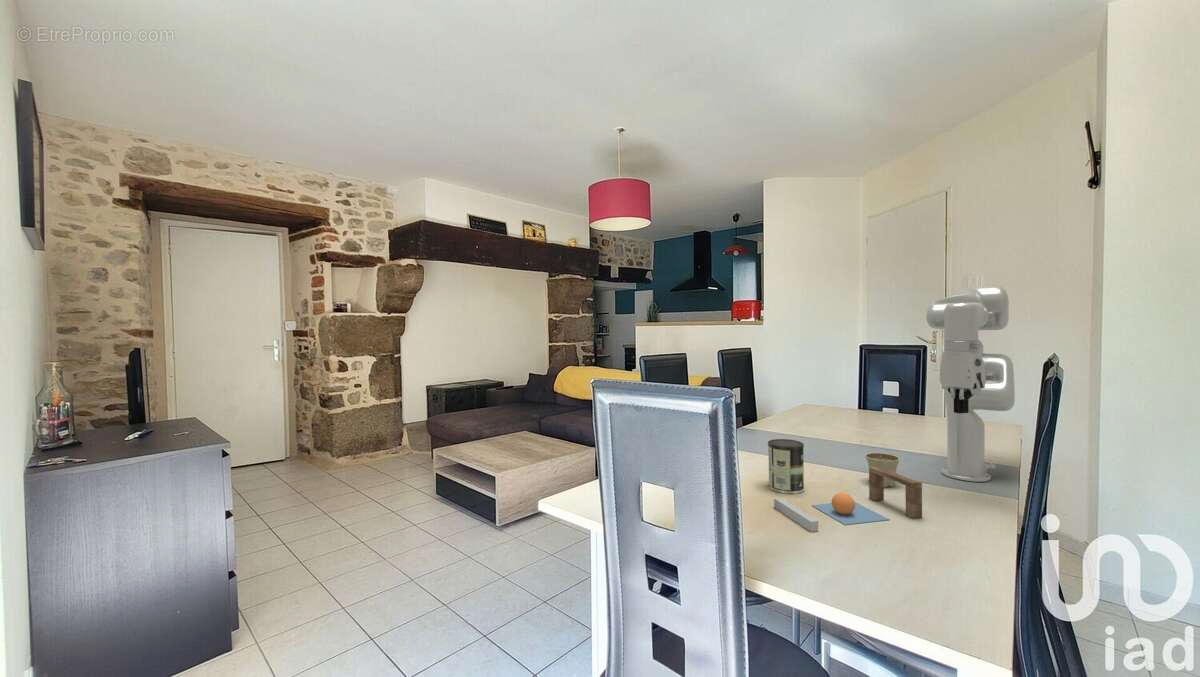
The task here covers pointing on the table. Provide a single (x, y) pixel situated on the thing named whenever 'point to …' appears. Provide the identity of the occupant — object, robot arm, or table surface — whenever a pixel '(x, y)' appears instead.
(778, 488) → the coffee can
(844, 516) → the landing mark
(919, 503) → the bridge
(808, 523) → the wall
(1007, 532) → the table surface
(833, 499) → the ball
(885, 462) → the flower pot
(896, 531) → the table surface
